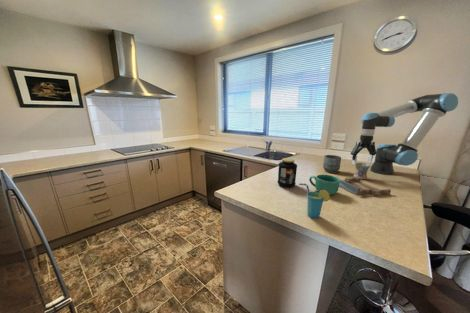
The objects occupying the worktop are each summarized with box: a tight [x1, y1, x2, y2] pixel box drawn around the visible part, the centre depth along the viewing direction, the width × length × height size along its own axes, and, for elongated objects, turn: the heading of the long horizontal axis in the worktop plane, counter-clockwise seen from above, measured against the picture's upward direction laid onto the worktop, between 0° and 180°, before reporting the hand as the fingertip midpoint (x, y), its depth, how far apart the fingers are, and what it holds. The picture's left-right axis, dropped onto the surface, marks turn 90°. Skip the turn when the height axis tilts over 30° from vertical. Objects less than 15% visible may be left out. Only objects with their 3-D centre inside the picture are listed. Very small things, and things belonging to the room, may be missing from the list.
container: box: [277, 157, 298, 188], centre depth 120 cm, size 12×12×18 cm
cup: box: [298, 183, 331, 220], centre depth 84 cm, size 14×8×15 cm, turn 54°
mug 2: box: [353, 162, 371, 181], centre depth 135 cm, size 12×9×11 cm
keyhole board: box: [338, 177, 392, 199], centre depth 116 cm, size 21×21×4 cm
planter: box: [322, 154, 342, 174], centre depth 149 cm, size 12×12×13 cm
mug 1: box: [309, 174, 340, 196], centre depth 111 cm, size 17×13×10 cm
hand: (361, 163), depth 134 cm, fingers open, 13 cm apart
